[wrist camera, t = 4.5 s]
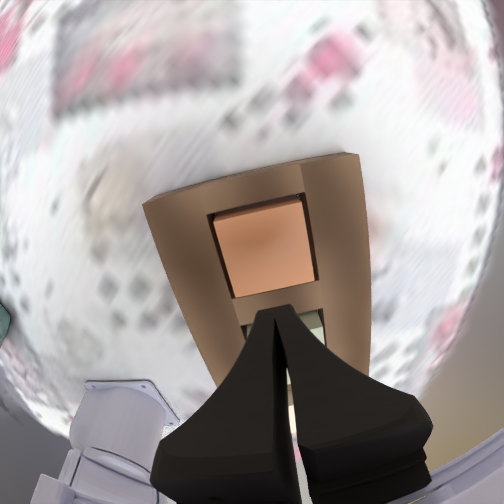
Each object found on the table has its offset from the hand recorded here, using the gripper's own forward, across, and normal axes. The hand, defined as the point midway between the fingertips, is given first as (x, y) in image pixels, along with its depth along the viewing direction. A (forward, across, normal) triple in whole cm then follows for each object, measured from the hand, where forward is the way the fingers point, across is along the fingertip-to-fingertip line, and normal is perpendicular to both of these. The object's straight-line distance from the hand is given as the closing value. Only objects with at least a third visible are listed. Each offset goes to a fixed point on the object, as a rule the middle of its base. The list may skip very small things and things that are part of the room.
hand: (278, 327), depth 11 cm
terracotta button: (+9, 0, 0) cm, 9 cm away
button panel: (+9, 0, +8) cm, 12 cm away
